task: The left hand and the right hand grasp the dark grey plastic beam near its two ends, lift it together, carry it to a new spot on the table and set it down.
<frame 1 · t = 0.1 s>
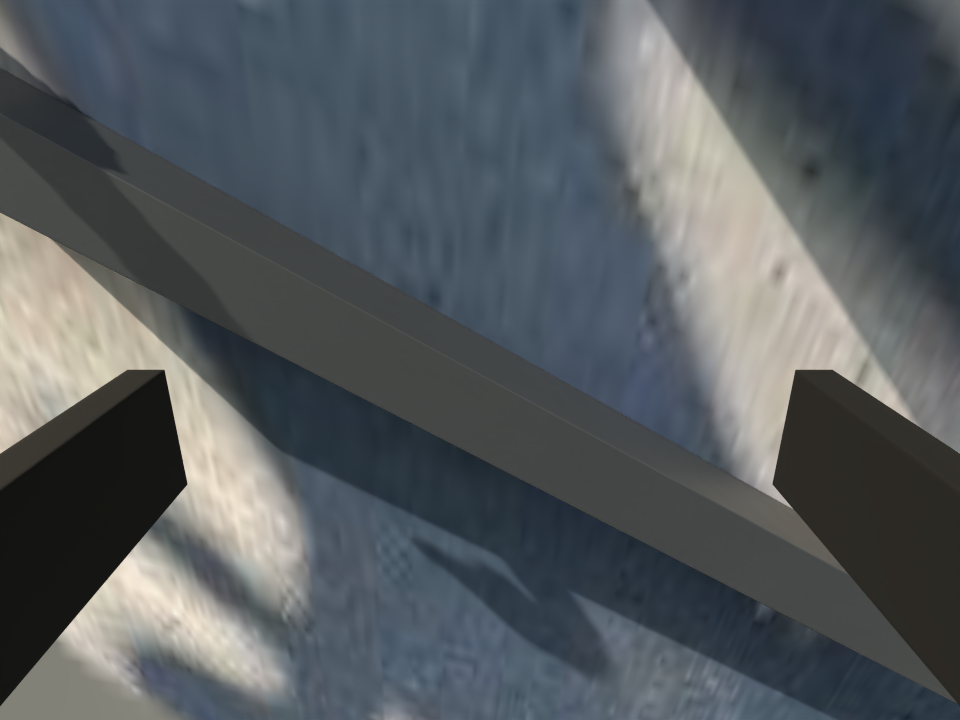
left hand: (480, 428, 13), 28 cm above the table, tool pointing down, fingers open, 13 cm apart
beam: (499, 382, 43), on the table
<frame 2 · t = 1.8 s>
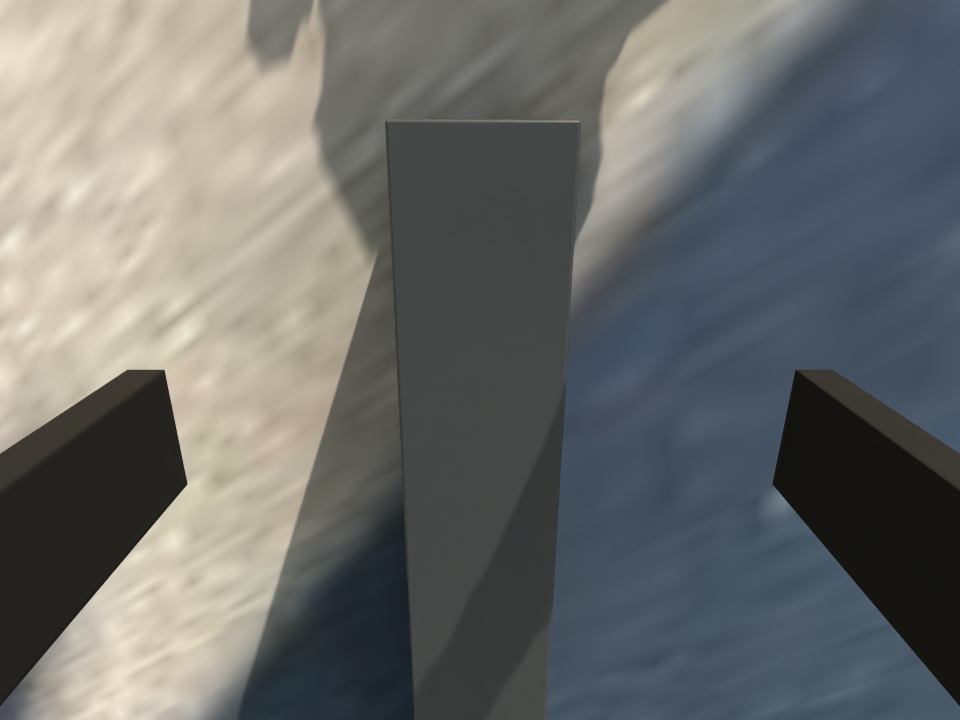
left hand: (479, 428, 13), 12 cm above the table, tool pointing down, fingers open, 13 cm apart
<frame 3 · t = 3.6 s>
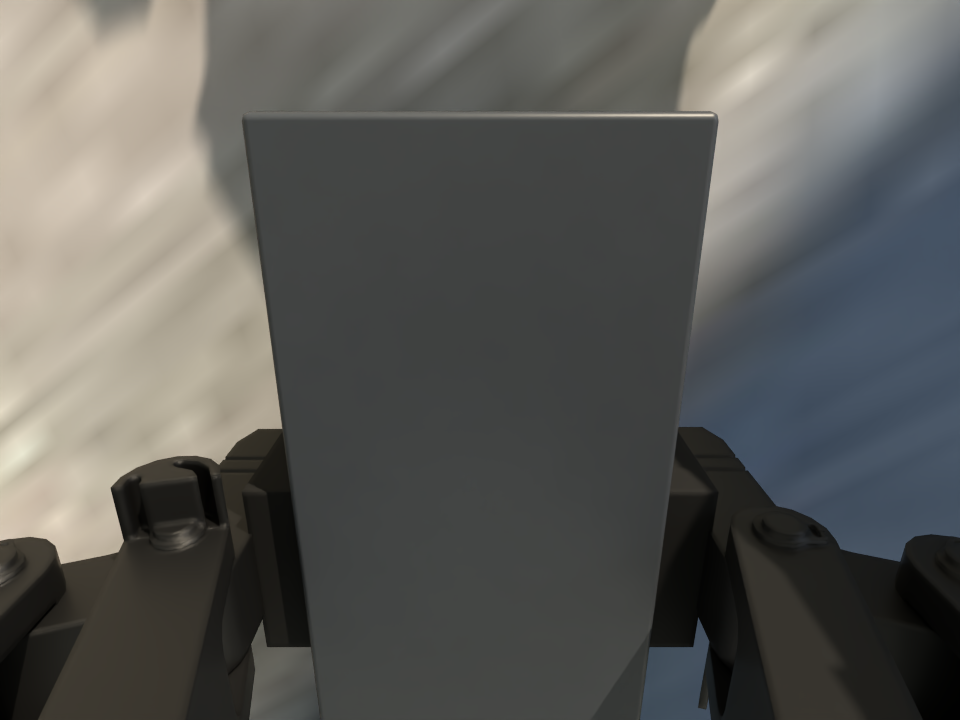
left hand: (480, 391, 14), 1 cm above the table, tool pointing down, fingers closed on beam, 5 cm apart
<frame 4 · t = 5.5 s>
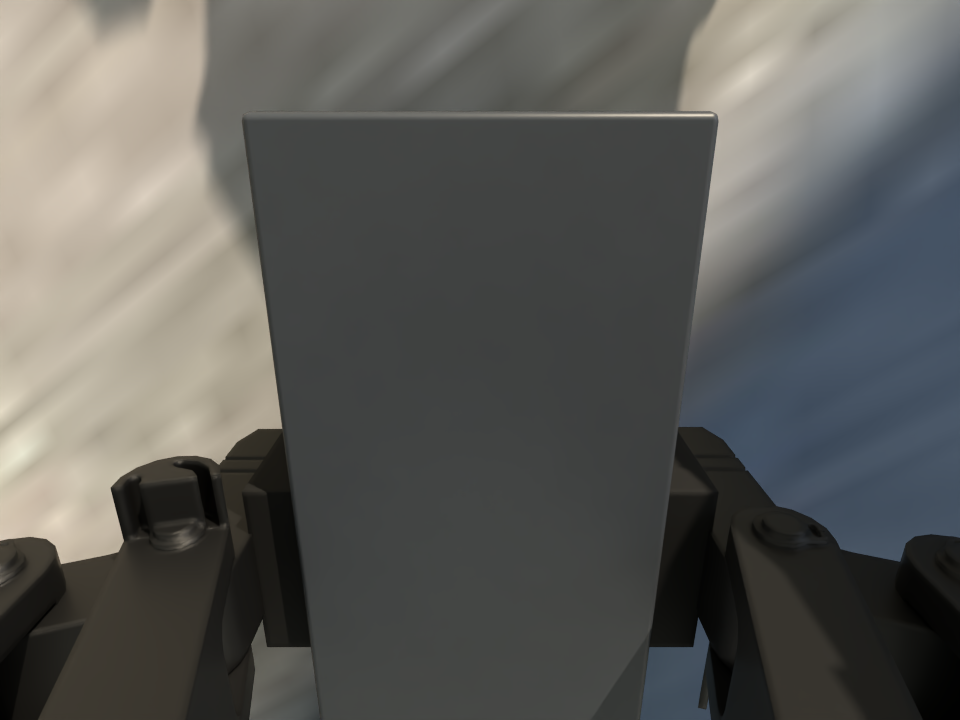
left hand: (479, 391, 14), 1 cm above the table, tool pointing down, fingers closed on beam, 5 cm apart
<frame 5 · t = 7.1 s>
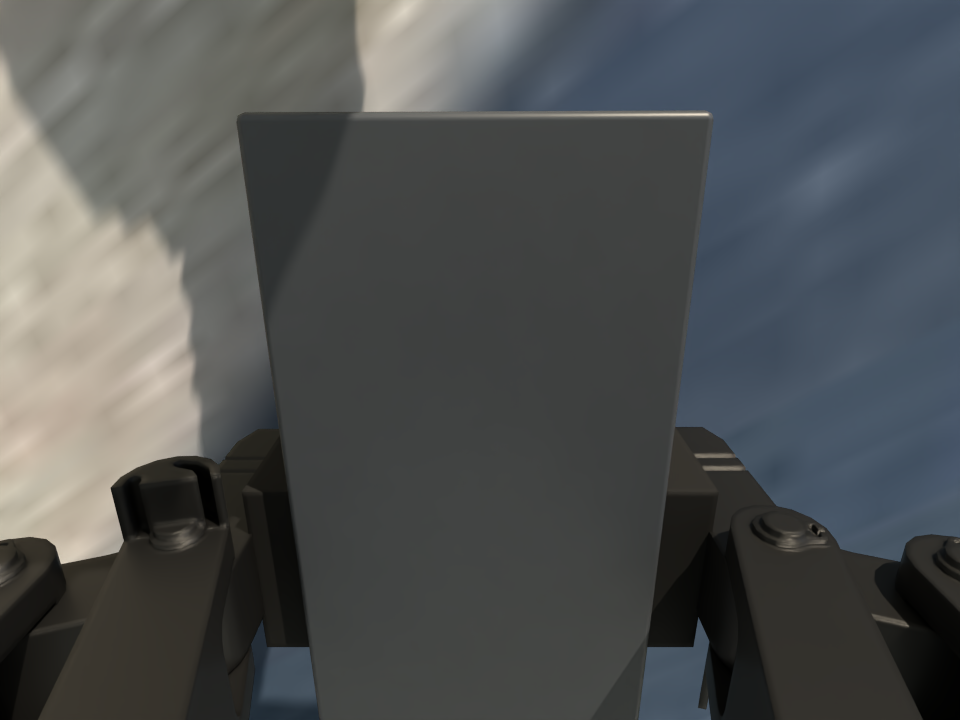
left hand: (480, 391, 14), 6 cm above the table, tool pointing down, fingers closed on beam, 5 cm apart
when the left hand's fingers open (2 cm above the table, at t = 8.8 s): beam drops 1 cm, on the table.
when the right hand's fingers open (2 cm above the table, at t = 8.8 s): beam drops 1 cm, on the table.
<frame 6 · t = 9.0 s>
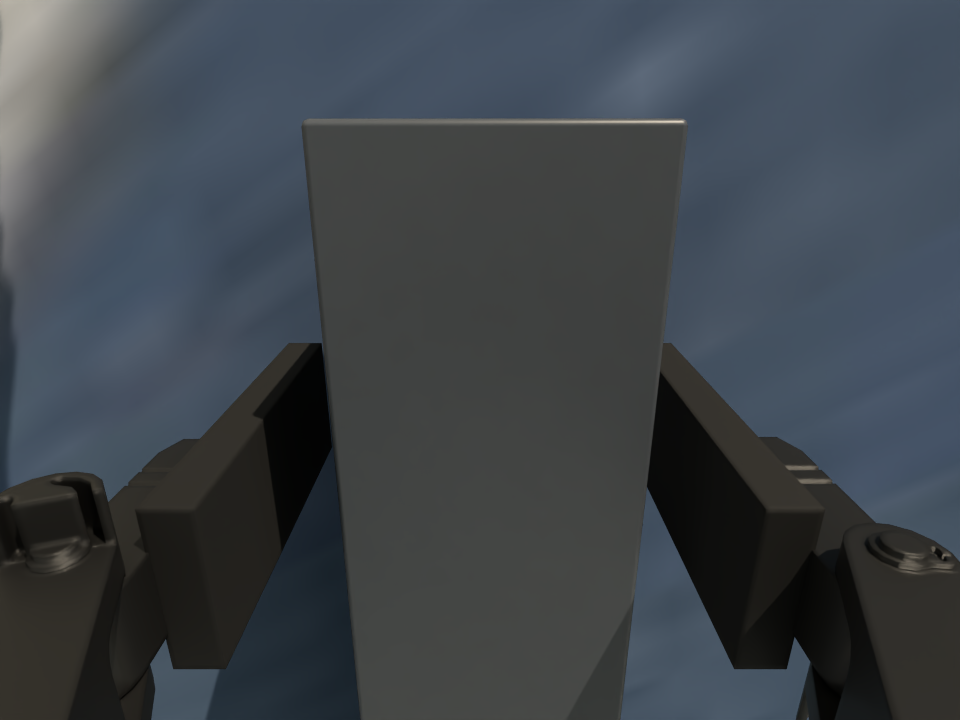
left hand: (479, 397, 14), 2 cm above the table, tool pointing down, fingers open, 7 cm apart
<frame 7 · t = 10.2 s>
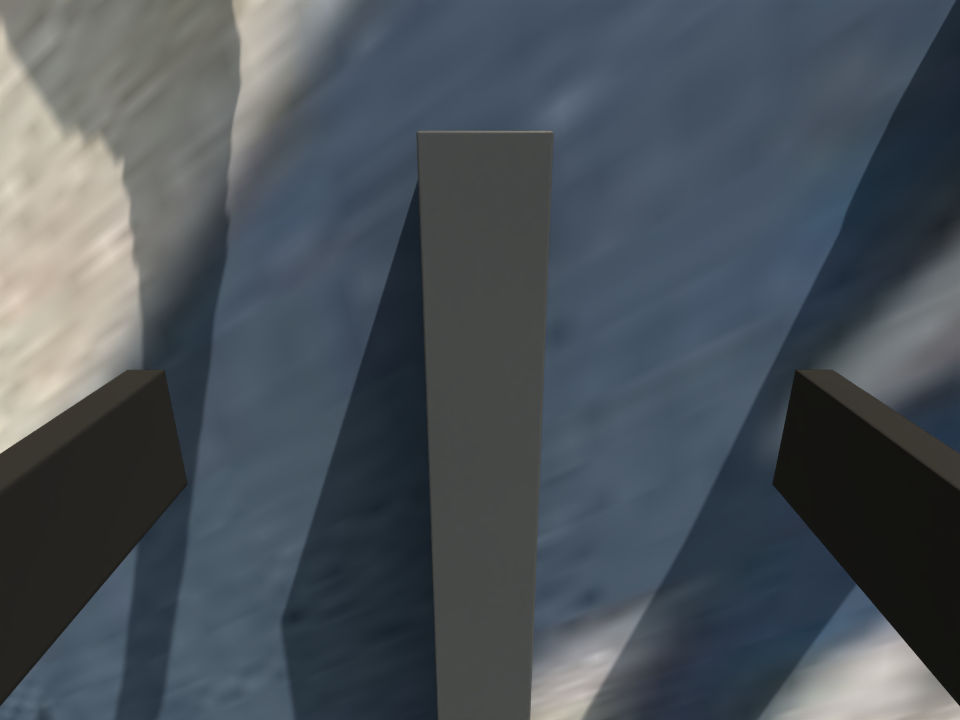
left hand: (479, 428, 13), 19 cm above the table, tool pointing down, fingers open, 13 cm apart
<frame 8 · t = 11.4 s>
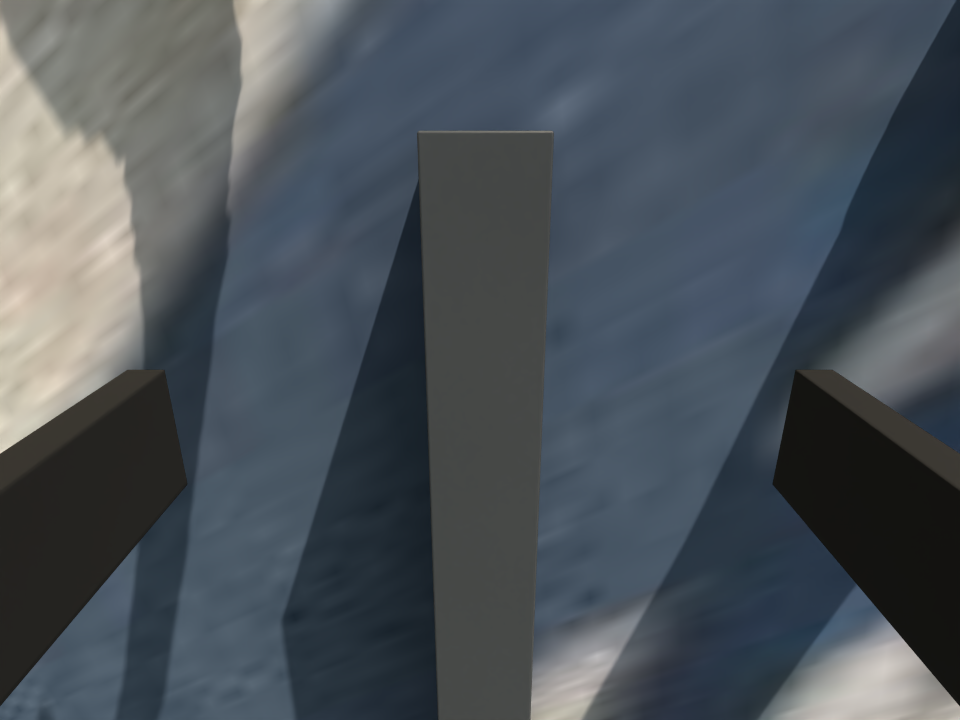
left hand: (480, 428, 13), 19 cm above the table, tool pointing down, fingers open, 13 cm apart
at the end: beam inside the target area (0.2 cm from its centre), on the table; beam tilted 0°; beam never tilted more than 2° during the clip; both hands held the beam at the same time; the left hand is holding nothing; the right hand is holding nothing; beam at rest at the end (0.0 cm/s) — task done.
